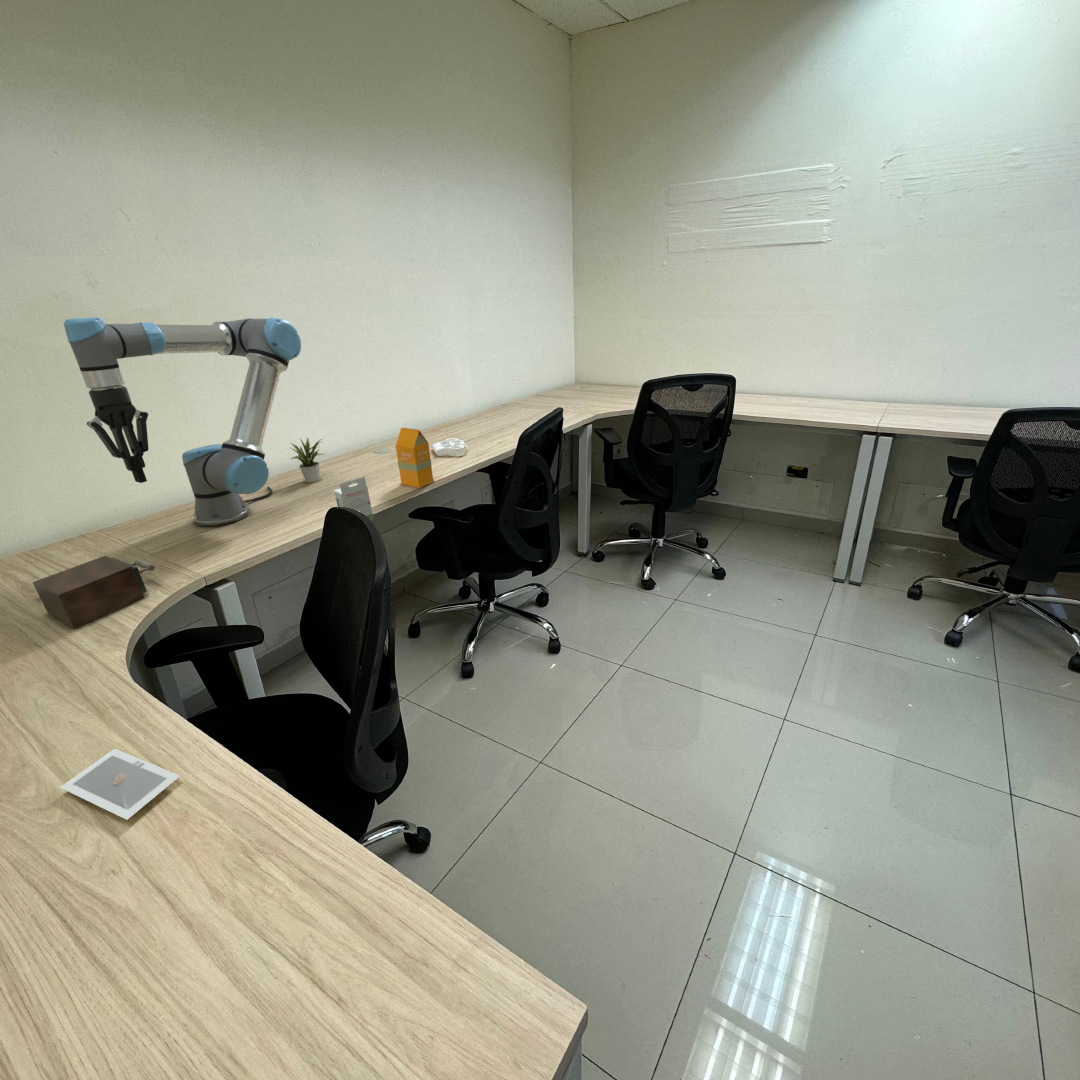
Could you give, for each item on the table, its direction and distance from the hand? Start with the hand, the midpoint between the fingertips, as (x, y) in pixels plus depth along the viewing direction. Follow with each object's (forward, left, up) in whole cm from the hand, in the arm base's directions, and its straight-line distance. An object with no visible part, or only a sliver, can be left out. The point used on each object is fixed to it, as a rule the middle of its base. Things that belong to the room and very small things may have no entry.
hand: (141, 481), depth 141 cm
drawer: (+18, +10, -22) cm, 30 cm away
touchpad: (+46, +73, -23) cm, 89 cm away
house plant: (-63, -17, -23) cm, 69 cm away
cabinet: (+22, +10, -22) cm, 33 cm away
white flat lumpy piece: (-115, +7, -23) cm, 117 cm away
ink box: (-40, +30, -23) cm, 55 cm away
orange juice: (-77, +21, -23) cm, 83 cm away
